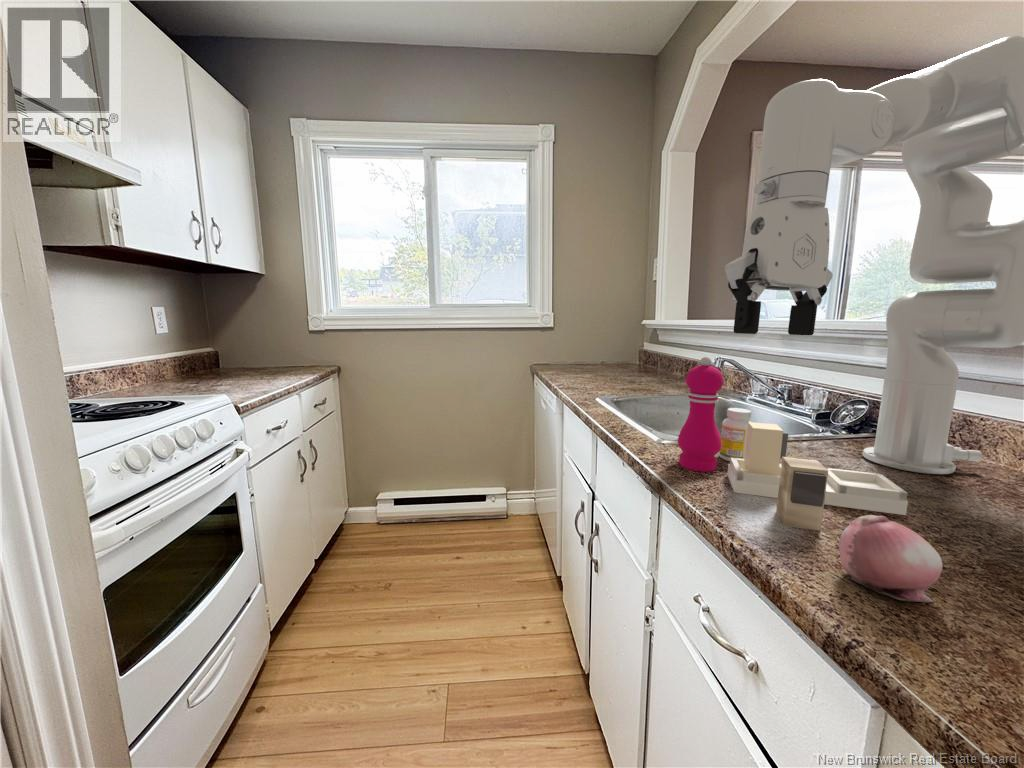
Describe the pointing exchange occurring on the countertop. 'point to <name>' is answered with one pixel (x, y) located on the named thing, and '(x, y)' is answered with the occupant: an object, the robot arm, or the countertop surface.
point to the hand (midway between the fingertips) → (773, 334)
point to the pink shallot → (889, 558)
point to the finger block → (801, 493)
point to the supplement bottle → (734, 433)
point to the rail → (842, 485)
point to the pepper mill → (701, 419)
